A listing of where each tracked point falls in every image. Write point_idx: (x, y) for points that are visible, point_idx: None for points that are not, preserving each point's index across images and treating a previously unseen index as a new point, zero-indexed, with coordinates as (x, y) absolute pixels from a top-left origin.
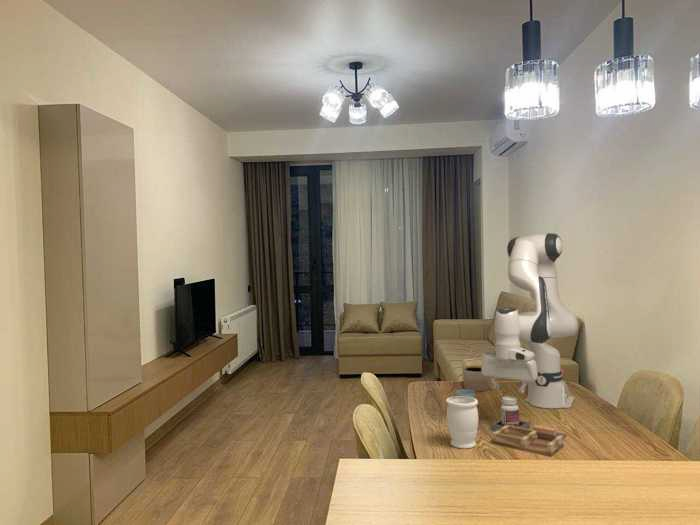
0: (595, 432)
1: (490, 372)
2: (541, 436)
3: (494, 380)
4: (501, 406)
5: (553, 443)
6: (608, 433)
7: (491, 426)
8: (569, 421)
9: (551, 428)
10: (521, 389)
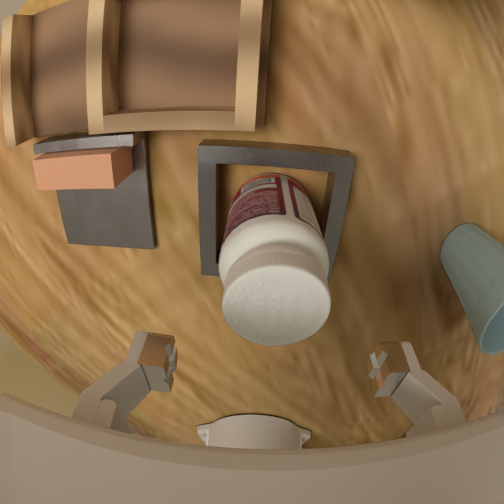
0: (51, 306)
1: (485, 456)
2: (87, 134)
3: (423, 408)
4: (324, 249)
5: (2, 43)
6: (33, 310)
7: (348, 154)
8: None
9: (48, 181)
10: (138, 353)
